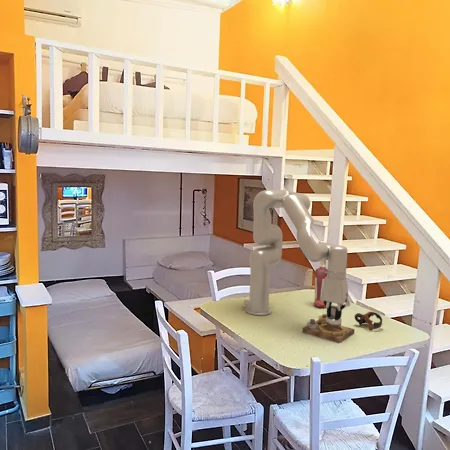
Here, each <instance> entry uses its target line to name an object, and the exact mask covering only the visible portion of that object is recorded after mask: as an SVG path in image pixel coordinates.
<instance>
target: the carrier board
mask: <svg viewBox="0 0 450 450" xmlns="http://www.w3.org/2000/svg"><path fill="white" fill-rule="evenodd" d="M326 317H327V313H322V315H321V314H320V315H319V316H318V319H317V320H316V319H314V318H310V320H309V321H308V322H306V325H305V326H303V327H302V328H301V329H302V331H301V333H302V334H306V335H311V336H312V337H313V336H314V337H317V338H320V339H323V340H327V341H332V342H335V343H338V344H341V343H342V342H344V341H346V340H347V339H348V338H350V337H351V336H353V335H354V334H355V328H351V327H349V326H348V327H347V326H344V325H341V326H329V325H327V324H326Z"/></svg>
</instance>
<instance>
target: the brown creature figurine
mask: <svg viewBox="0 0 450 450" xmlns="http://www.w3.org/2000/svg"><path fill="white" fill-rule="evenodd" d="M373 316H375V317H376V318H377V319H378V320H379V322H376V321H373V320H371V319H370V318H371V317H373ZM354 319H355V321H356V322H357V323H358V325H360V326H361V325H363V324H368V325H369V327H368V328H367V329H368V330H369V331H370V332H371V331H373V330H378V329H379V328H381V326H383V318H382V316H381V314H379V313H377V312H375V311H368V312H366V313H364V314H363V313H358V312H357V313H355V315H354Z"/></svg>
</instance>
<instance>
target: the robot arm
mask: <svg viewBox="0 0 450 450" xmlns="http://www.w3.org/2000/svg"><path fill="white" fill-rule="evenodd" d="M252 204H253V205H252V207H253V223H252V224H253V227H252V229H253V231H252V238H253V239H252V240H253V242H254V243H255V244H256V245H258V246H262V247H257V248H254V249H253V250H251V251H250V254H249V257H248V258H249V259H248V260H249V261H248V262H249V267H250V274H249V275H250V279H249V297H248V299H249V300H248V299H244V300H243V302H242V304H243V305H245V306H246V307H245V312H246V313H247V314H249V315H254V316H267V315H271V313H272V309H271V308H270V307H269V305H270V304H269V303H270V302H269V301H270V287H271V285H270V284H271V275H270V270H269V267H271V266H276V265H278V264H279V263H280V262H281V260H282V255H283V232H282V229H281V228H280V226H279V225H277V224H273V223H272V214H271V211H270V209H279V208H281V209H284V211H285V212H286V214H287V217H289V219H290V221H291V222H292V224H293V225H294V228H295V229H296V241H297V245H298V246H299V248H300V250H301V251H302V254H303V255H304V257H305V258H306V259H307V260H308V261H310V262H312V263H318V262H321V261H324V260H325V261H327V269H328V270H327V271H325V274H327V277H325V280H324V284H323V290H322V296H321V297H320V300H321V301H322V302H324V304H325V305H326V307H325V308H326V314H327V317H328V318H329V317H330V308H331V306H333V304H337V305H336V306H338V310H337V311H336V320H338V319H340V318H341V319H342V312H343V309H345V308H347V307H350V306H351V303H350V299H349V284H348V279H347V266H348V264H347V263H348V248H347V247H346V246H344V245H335V244H332V243H330V242H319V243H316V241H315V240H314V238H313V237H312V234H311V227H312V226H313V224H314V221H315V220H314V218H313V216H312V215H311V213H310V211H309V209H310V207H311V200H310V198H309V196H307V195H306V194H304V193H301V192H295V191H292V190H286V189H265V190H262V191H259V192H258V193H257V194H256V195H255V197H254V199H253V202H252ZM263 245H264V246H263ZM332 303H333V304H332Z"/></svg>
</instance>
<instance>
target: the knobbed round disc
mask: <svg viewBox="0 0 450 450" xmlns="http://www.w3.org/2000/svg"><path fill="white" fill-rule="evenodd" d="M337 310H338V305H331V308H330V317H329V318H328V317H326V324H327V325H329V326H342V317H341V318H340V319H338V320H336V311H337Z"/></svg>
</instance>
